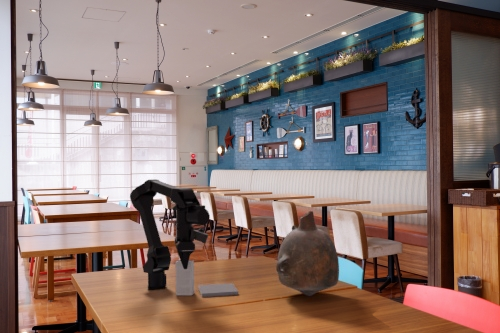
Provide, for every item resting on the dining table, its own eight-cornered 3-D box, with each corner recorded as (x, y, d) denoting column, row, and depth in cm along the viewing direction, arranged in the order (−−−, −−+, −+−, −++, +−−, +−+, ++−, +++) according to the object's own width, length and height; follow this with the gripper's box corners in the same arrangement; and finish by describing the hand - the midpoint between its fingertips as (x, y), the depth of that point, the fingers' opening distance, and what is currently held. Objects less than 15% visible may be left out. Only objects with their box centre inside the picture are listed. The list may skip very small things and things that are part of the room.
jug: (295, 285, 189) (294, 206, 189) (349, 291, 178) (348, 208, 178) (264, 300, 168) (263, 212, 168) (323, 308, 157) (322, 214, 157)
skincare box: (194, 292, 179) (194, 259, 179) (192, 295, 175) (191, 262, 175) (178, 292, 180) (177, 259, 180) (175, 295, 176) (175, 261, 176)
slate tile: (201, 297, 173) (201, 293, 173) (198, 288, 186) (198, 285, 186) (238, 294, 176) (238, 291, 176) (232, 286, 188) (232, 283, 188)
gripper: (209, 225, 170) (209, 270, 170) (203, 219, 188) (204, 260, 188) (176, 226, 168) (177, 272, 168) (174, 220, 186) (174, 262, 186)
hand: (184, 266), depth 177 cm, fingers open, 9 cm apart
